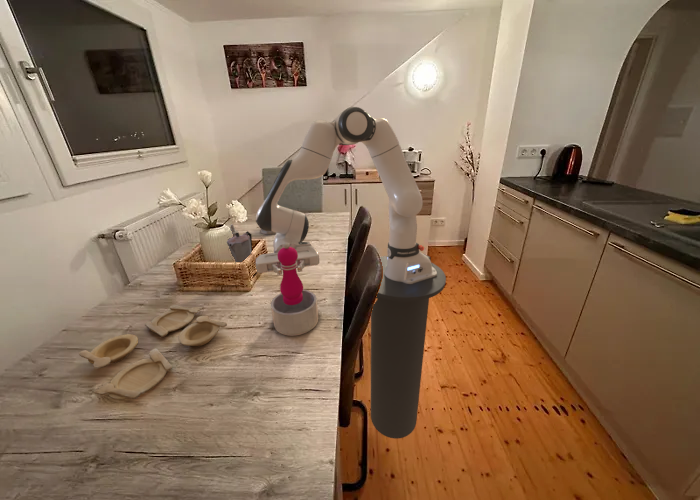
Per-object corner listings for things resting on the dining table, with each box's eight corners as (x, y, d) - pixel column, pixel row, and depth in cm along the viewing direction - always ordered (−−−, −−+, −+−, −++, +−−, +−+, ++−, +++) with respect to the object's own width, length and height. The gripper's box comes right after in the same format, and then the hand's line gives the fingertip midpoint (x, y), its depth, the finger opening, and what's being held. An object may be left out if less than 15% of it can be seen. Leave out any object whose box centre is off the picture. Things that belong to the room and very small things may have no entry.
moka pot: (228, 281, 120) (217, 237, 112) (246, 265, 134) (238, 225, 126) (248, 282, 118) (239, 238, 110) (264, 266, 132) (258, 226, 124)
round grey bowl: (314, 304, 102) (312, 286, 99) (321, 330, 89) (319, 309, 86) (273, 312, 99) (270, 293, 96) (274, 339, 86) (271, 318, 83)
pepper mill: (309, 297, 92) (303, 241, 84) (293, 309, 86) (286, 249, 78) (293, 291, 95) (286, 236, 87) (277, 301, 90) (268, 244, 82)
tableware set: (183, 304, 105) (181, 295, 103) (239, 326, 92) (237, 316, 91) (63, 371, 77) (57, 360, 75) (120, 416, 64) (113, 404, 62)
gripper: (254, 248, 94) (252, 266, 82) (314, 241, 99) (321, 257, 87) (257, 265, 97) (256, 285, 84) (316, 257, 101) (323, 275, 89)
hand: (289, 271), depth 86 cm, fingers closed on pepper mill, 5 cm apart
